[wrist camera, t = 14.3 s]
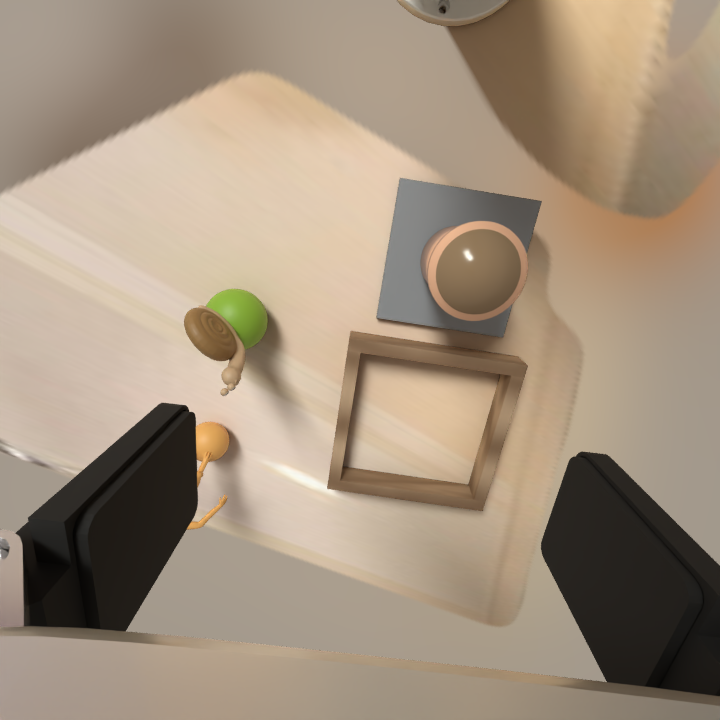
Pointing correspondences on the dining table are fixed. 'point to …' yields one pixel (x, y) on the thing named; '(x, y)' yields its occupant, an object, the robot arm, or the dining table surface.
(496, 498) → the dining table surface
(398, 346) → the frame
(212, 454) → the figurine
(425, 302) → the grey mat
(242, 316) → the snail figurine
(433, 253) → the terracotta pot
